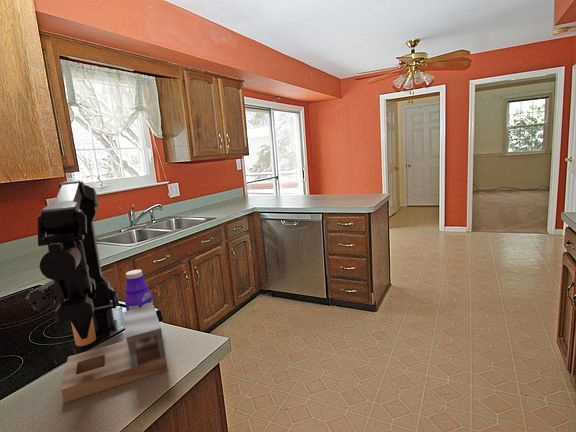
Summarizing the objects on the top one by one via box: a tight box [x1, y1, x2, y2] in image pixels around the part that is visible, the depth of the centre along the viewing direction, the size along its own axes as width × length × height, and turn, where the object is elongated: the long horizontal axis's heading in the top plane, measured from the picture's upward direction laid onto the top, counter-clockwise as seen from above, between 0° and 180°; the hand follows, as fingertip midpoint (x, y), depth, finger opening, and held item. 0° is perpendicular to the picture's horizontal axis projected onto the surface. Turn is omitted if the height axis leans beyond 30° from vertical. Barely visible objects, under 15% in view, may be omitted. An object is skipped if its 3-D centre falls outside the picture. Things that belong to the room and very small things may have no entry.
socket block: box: [60, 304, 169, 404], centre depth 81 cm, size 15×20×10 cm
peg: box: [70, 319, 97, 347], centre depth 78 cm, size 4×4×8 cm
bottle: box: [124, 269, 154, 311], centre depth 98 cm, size 7×6×17 cm
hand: (84, 334), depth 78 cm, fingers closed on peg, 4 cm apart
